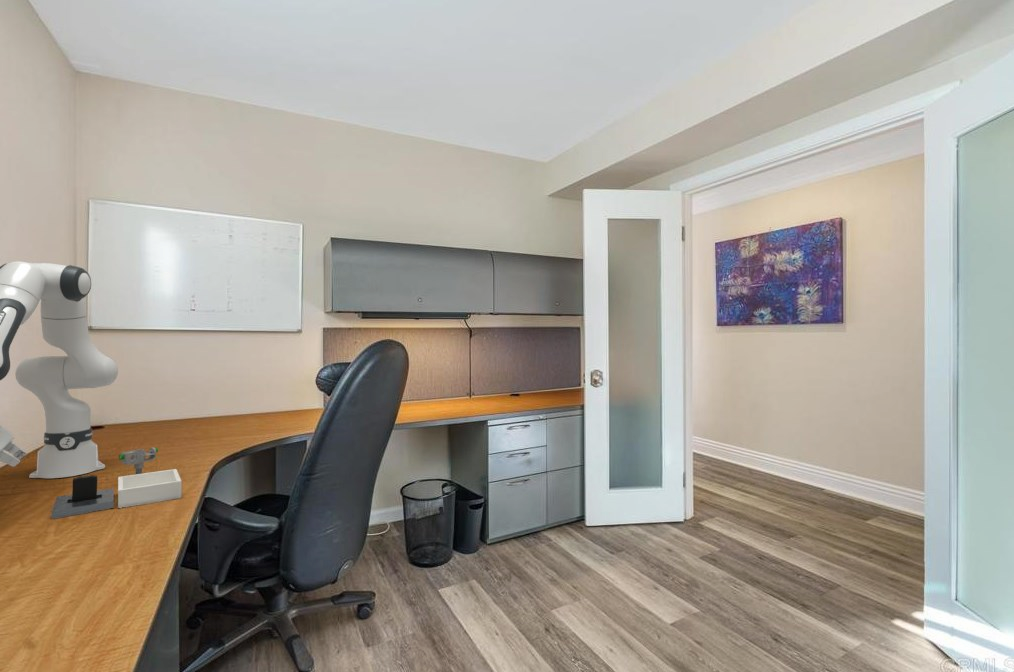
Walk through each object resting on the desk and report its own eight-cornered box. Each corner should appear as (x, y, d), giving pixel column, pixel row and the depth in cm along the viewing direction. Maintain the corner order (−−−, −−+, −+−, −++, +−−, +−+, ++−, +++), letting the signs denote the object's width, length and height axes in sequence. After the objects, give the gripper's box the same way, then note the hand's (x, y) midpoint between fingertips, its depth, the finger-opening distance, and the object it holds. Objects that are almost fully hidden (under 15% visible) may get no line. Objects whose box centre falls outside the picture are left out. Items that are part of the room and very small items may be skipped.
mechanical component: (159, 478, 156) (159, 447, 156) (122, 487, 147) (122, 454, 147) (153, 477, 157) (153, 446, 157) (117, 486, 148) (117, 453, 148)
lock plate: (57, 503, 132) (57, 496, 132) (113, 494, 140) (113, 488, 140) (51, 519, 121) (51, 511, 121) (113, 508, 129) (113, 501, 129)
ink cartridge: (96, 503, 133) (97, 474, 133) (96, 505, 131) (97, 476, 131) (72, 507, 130) (73, 477, 130) (71, 509, 128) (72, 479, 128)
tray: (118, 493, 141) (118, 476, 141) (176, 484, 150) (176, 468, 150) (118, 508, 129) (118, 490, 129) (181, 497, 137) (181, 481, 137)
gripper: (-34, 421, 110) (26, 458, 116) (-14, 410, 126) (38, 443, 132) (-64, 443, 107) (0, 480, 113) (-40, 429, 123) (14, 462, 129)
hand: (20, 460), depth 123 cm, fingers open, 8 cm apart
